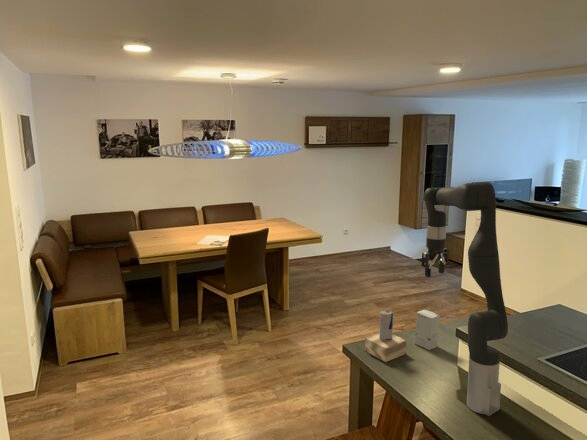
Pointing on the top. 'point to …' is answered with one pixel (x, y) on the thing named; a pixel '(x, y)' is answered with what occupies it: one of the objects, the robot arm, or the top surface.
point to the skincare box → (427, 329)
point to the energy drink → (385, 325)
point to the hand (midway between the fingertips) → (434, 274)
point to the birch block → (385, 347)
